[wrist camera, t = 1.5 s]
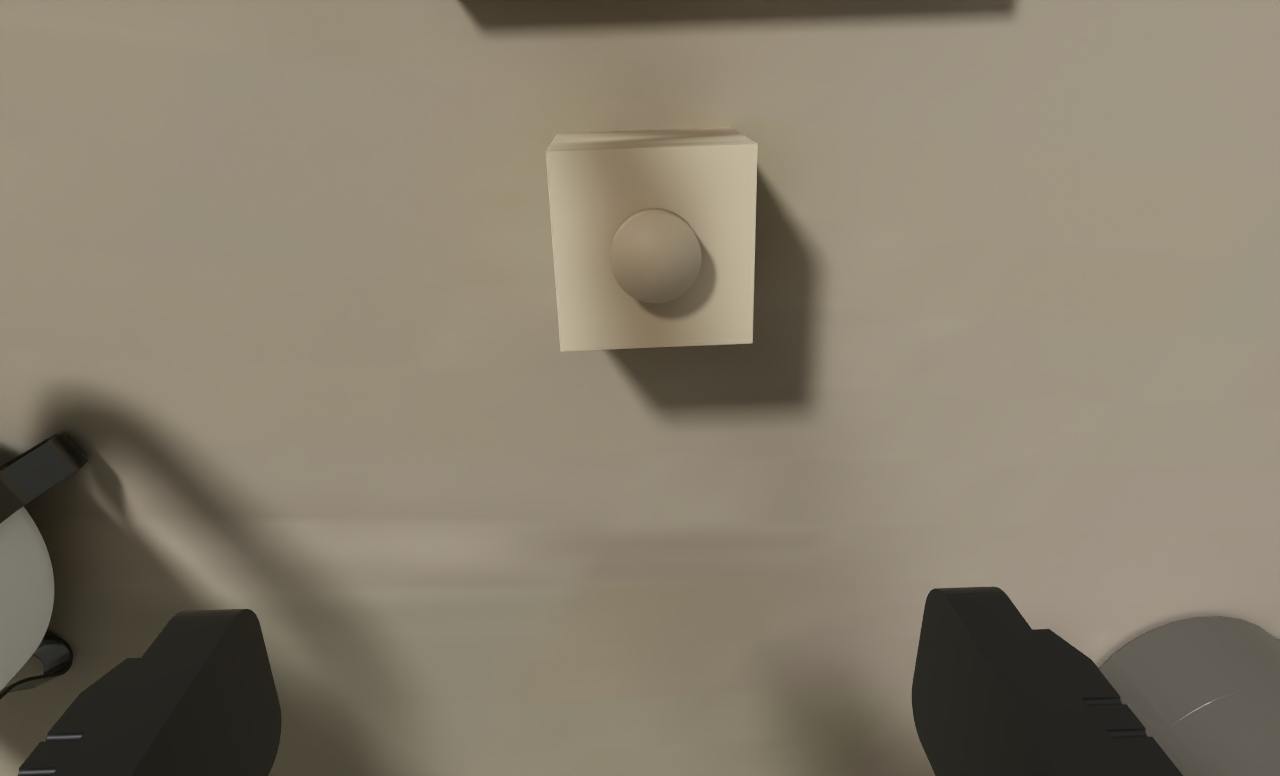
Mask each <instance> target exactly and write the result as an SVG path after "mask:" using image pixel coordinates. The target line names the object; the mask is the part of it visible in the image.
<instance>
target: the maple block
mask: <svg viewBox="0 0 1280 776" xmlns="http://www.w3.org/2000/svg"><path fill="white" fill-rule="evenodd" d="M757 149H758V144H757V143H755V142H754V141H752V140H750V139H749V138H747V137H746V136H744V135H742V134H741V133H739V132H738V131H736V130H734V129H733V128H731V127H726V128H698V129H670V130H642V131H614V132H586V133H558V134H556V136H555V137H554V139H553V141H552V142H551V144H550V146H549V147H548V149H547V150H546V162H547V175H548V189H549V202H550V216H551V229H552V243H553V256H554V270H555V283H556V297H557V310H558V324H559V337H560V351H581V350H605V349H629V348H653V347H677V346H701V345H725V344H749V343H753V306H754V267H755V228H756V189H757Z"/></svg>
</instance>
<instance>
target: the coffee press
mask: <svg viewBox="0 0 1280 776" xmlns="http://www.w3.org/2000/svg"><path fill="white" fill-rule="evenodd" d="M87 462H88V460H87V459H86V458H85V457H84V455H83V454H82V453H81V452H80V451H79V450H78V449H77V448H76V447H75V445H74V444H73V443H72V442H71V441H70V440H69V439H68V438H67V436H66V435H65V434H64V433H63V432H59V433H57V434H55V435H53V436H52V437H50V438H48V439H46V440H45V441H43V442H41V443H39V444H38V445H36V446H34V447H33V448H31V449H29V450H28V451H26V452H25V453H23V454H21V455H20V456H18V457H16V458H15V459H13V460H11V461H10V462H8V463H6V464H5V465H3V466H1V467H0V699H1V698H2V697H3V696H5V695H6V694H7V693H9V692H14V691H20V690H26V689H31V688H34V687H37V686H39V685H41V684H43V683H45V682H47V681H49V680H52V679H54V678H56V677H58V676H60V675H62V674H64V673H65V672H67V671H68V670H69V668H70V667H71V665H72V661H73V654H72V651H71V648H70V647H69V645H68V644H67V643H66V642H65V641H64V640H62V639H60V638H56V637H45V636H44V635H45V633H46V631H47V628H48V625H49V622H50V619H51V615H52V610H53V604H54V576H53V569H52V564H51V560H50V557H49V553H48V550H47V548H46V545H45V542H44V540H43V538H42V536H41V534H40V532H39V530H38V528H37V526H36V524H35V523H34V521H33V519H32V518H31V516H30V515H29V513H28V512H27V510H26V509H25V507H24V505H26V504H27V503H29V502H30V501H32V500H33V499H34V498H36V497H37V496H39V495H40V494H42V493H43V492H45V491H46V490H48V489H49V488H51V487H52V486H54V485H55V484H57V483H59V482H60V481H62V480H63V479H65V478H66V477H68V476H69V475H71V474H72V473H74V472H75V471H77V470H78V469H79V468H81V467H82V466H83V465H85V464H86V463H87ZM33 654H35V655H36V656H38V657H39V658H40V659H41V661H42V663H43V665H44V674H43V675H39V676H34V677H30V678H26V679H23V680H20V681H18V682H16V683H14V684H12V685H10V686H7V687H5V686H6V685H7V683H8V682H9V681H10V680H11V679H12V678H13V677H14V676H15V675H16V674H17V672H18V671H19V670H20V669H21V668H22V667H23V666H24V665H25V663H26V662H27V661H28V660H29V659H30V657H31V656H32V655H33ZM4 687H5V688H4Z"/></svg>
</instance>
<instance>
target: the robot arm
mask: <svg viewBox="0 0 1280 776" xmlns="http://www.w3.org/2000/svg"><path fill="white" fill-rule="evenodd" d="M912 708H913V715H914V721H915V726H916V729H917V733H918V736H919V739H920V742H921V744H922V746H923V749H924V751H925V753H926V755H927V757H928V760H929V762H930V764H931V766H932V768H933V771H934V773H935V775H936V776H1280V640H1279V639H1277V638H1275V637H1274V636H1272V635H1271V634H1269V633H1268V632H1266V631H1265V630H1264V629H1262V628H1261V627H1259V626H1257V625H1255V624H1252V623H1249V622H1247V621H1244V620H1241V619H1235V618H1228V617H1222V616H1215V617H1196V618H1191V619H1186V620H1181V621H1176V622H1173V623H1170V624H1167V625H1165V626H1162V627H1159V628H1156V629H1154V630H1151V631H1149V632H1147V633H1145V634H1144V635H1142V636H1140V637H1138V638H1136V639H1134V640H1133V641H1131V642H1129V643H1128V644H1127V645H1125V646H1124V647H1123V648H1121V649H1120V650H1119V651H1117V652H1116V653H1115V654H1113V655H1112V656H1111V657H1110V658H1109V659H1108V660H1107V661H1106V662H1105V663H1104V664H1103V665H1102V666H1101V668H1100V669H1098V667H1097V666H1096V665H1095V664H1094V662H1093V661H1092V660H1091V659H1090V658H1088V657H1087V656H1086V655H1084V654H1083V653H1081V652H1080V651H1079V650H1077V649H1076V648H1075V647H1073V646H1072V645H1070V644H1069V643H1068V642H1066V641H1065V640H1063V639H1062V638H1061V637H1059V636H1058V635H1057V634H1055V633H1054V632H1052V631H1051V630H1050V629H1038V630H1032V629H1031V628H1030V626H1029V625H1028V623H1027V622H1026V621H1025V619H1024V618H1023V617H1022V615H1021V614H1020V613H1019V611H1018V610H1017V608H1016V607H1015V606H1014V604H1013V603H1012V602H1011V600H1010V599H1009V597H1008V596H1007V595H1006V594H1005V593H1004V591H1002V590H1001V589H1000V588H998V587H968V588H938V589H933V590H931V591H930V593H929V594H928V596H927V599H926V603H925V609H924V615H923V621H922V628H921V634H920V640H919V646H918V653H917V659H916V665H915V672H914V678H913V685H912ZM280 734H281V710H280V705H279V700H278V696H277V692H276V688H275V684H274V680H273V676H272V672H271V668H270V663H269V659H268V655H267V651H266V647H265V643H264V639H263V635H262V631H261V627H260V623H259V620H258V618H257V616H256V614H255V613H254V612H253V611H251V610H249V609H232V610H202V611H182V612H180V613H178V614H176V615H175V616H174V617H173V618H172V619H171V620H170V621H169V623H168V624H167V625H166V626H165V628H164V629H163V630H162V632H161V633H160V634H159V636H158V637H157V638H156V640H155V641H154V642H153V643H152V645H151V646H150V647H149V649H148V650H147V651H146V653H145V654H144V655H143V657H142V658H129V659H126V660H124V661H123V662H122V663H120V664H119V665H118V666H116V667H115V668H114V669H112V670H111V671H110V672H108V673H107V674H106V675H104V676H103V677H102V678H100V679H99V680H97V681H96V682H95V683H93V684H92V685H91V686H89V687H88V688H87V689H85V690H84V691H83V692H81V693H80V694H79V696H78V697H77V698H76V699H75V700H74V702H73V703H72V704H71V705H70V707H69V708H68V709H67V710H66V711H65V713H64V714H63V715H62V716H61V718H60V719H59V720H58V721H57V723H56V724H55V725H54V726H53V727H52V729H51V730H50V731H49V732H48V734H47V735H48V737H47V740H46V742H40V743H39V745H38V746H37V747H36V748H35V749H34V751H33V752H32V753H31V754H30V756H29V757H28V758H27V759H26V761H25V762H24V763H23V764H22V765H21V767H20V768H19V774H18V776H268V775H269V772H270V770H271V768H272V766H273V763H274V761H275V758H276V754H277V750H278V746H279V741H280Z"/></svg>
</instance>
